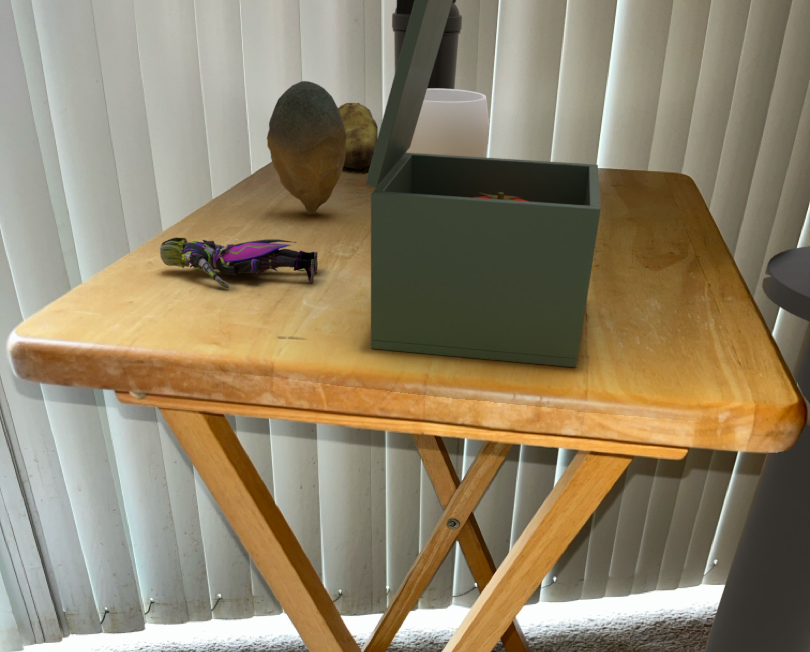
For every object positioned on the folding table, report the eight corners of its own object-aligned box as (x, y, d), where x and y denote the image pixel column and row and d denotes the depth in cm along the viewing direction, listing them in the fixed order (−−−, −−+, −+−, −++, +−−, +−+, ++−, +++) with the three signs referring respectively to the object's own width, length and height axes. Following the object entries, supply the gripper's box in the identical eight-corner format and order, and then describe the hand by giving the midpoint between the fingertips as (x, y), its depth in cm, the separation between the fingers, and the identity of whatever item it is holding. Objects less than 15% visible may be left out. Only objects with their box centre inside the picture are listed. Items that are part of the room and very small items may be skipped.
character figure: (320, 266, 91) (173, 254, 91) (321, 231, 89) (170, 219, 89) (309, 296, 84) (148, 283, 83) (309, 258, 81) (144, 245, 81)
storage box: (577, 303, 83) (597, 164, 75) (576, 367, 70) (600, 209, 63) (402, 288, 85) (405, 152, 78) (370, 348, 73) (370, 193, 65)
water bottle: (377, 158, 134) (378, -14, 121) (428, 151, 139) (434, -15, 126) (415, 170, 128) (421, -10, 114) (467, 163, 133) (478, -11, 119)
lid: (479, -91, 66) (468, -95, 66) (455, -98, 54) (441, -103, 54) (409, 148, 77) (400, 144, 77) (376, 188, 65) (365, 184, 65)
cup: (498, 241, 99) (511, 99, 90) (423, 254, 94) (429, 105, 86) (448, 219, 106) (454, 85, 98) (375, 230, 102) (376, 90, 93)
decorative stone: (350, 210, 109) (349, 79, 100) (343, 223, 104) (340, 86, 95) (277, 206, 109) (269, 75, 100) (266, 219, 104) (256, 82, 96)
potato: (318, 171, 126) (316, 112, 121) (335, 153, 136) (334, 98, 132) (373, 174, 125) (373, 115, 120) (386, 156, 135) (386, 101, 131)
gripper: (297, -468, 48) (314, 13, 62) (523, -476, 47) (489, 20, 61) (329, -424, 55) (338, 6, 68) (530, -429, 53) (497, 12, 67)
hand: (409, 12), depth 64 cm, fingers closed
